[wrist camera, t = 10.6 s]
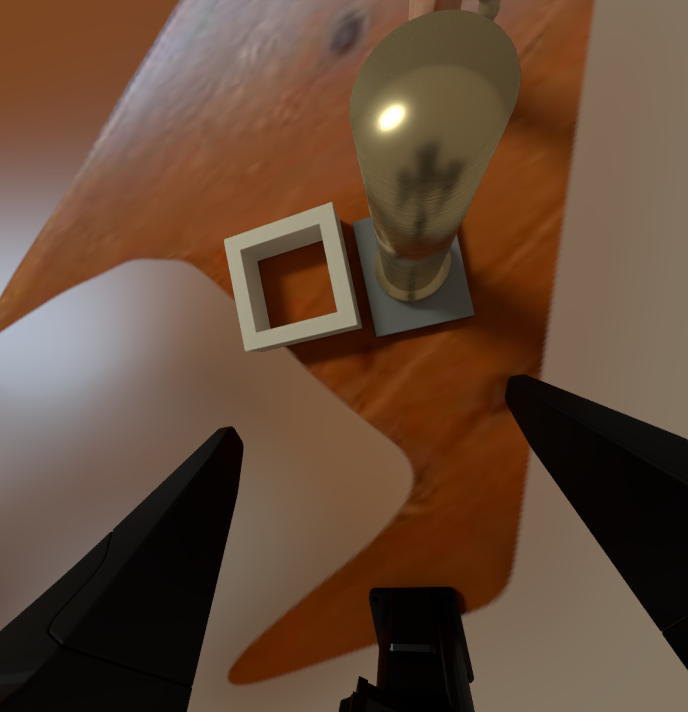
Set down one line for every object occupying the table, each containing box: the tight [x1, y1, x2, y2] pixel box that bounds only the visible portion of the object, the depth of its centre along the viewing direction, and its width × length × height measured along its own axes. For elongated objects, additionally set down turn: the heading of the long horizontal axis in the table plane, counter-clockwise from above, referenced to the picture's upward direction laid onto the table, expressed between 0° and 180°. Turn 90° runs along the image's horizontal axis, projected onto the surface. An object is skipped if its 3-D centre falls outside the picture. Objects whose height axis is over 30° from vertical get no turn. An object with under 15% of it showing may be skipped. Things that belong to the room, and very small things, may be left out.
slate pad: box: [353, 217, 475, 338], centre depth 19 cm, size 9×7×1 cm
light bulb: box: [350, 10, 521, 303], centre depth 13 cm, size 5×5×13 cm
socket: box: [224, 202, 362, 352], centre depth 21 cm, size 9×9×2 cm
